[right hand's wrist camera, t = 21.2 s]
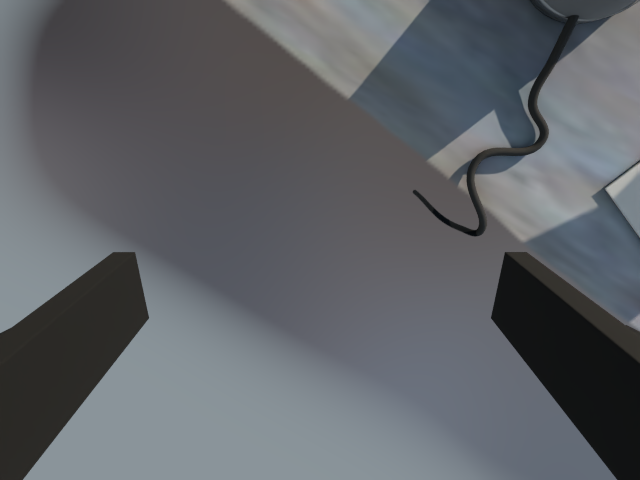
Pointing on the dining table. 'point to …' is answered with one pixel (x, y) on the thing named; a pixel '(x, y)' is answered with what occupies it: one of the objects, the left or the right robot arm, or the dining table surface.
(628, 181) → the invitation card
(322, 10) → the dining table surface
